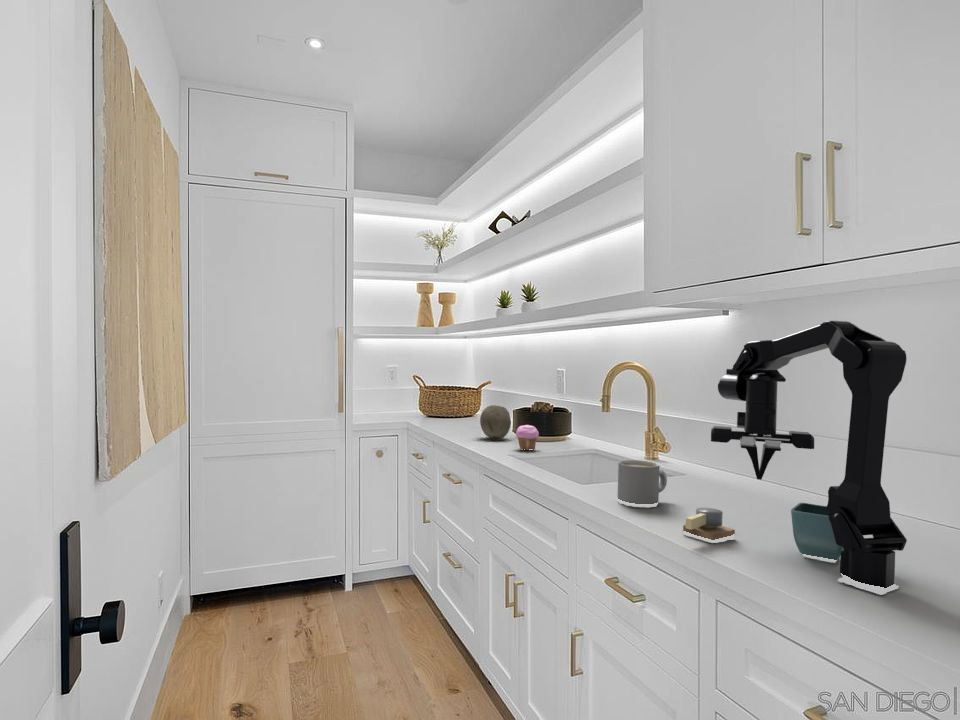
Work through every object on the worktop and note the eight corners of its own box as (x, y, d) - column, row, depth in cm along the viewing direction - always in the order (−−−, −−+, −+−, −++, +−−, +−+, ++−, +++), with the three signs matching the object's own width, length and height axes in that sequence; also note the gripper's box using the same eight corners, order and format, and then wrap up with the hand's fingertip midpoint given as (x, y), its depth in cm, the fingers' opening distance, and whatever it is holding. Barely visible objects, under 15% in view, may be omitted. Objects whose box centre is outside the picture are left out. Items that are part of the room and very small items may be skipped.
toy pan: (700, 533, 109) (701, 520, 109) (676, 527, 113) (676, 514, 113) (726, 523, 117) (726, 511, 117) (703, 518, 120) (703, 506, 120)
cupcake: (527, 452, 218) (527, 426, 218) (510, 449, 224) (511, 424, 224) (542, 450, 224) (543, 425, 224) (526, 447, 230) (527, 422, 230)
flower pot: (798, 547, 112) (799, 501, 112) (852, 557, 106) (853, 509, 106) (788, 558, 105) (790, 509, 105) (845, 570, 100) (846, 519, 100)
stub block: (734, 539, 116) (734, 526, 116) (712, 544, 112) (713, 531, 112) (704, 530, 122) (705, 518, 122) (683, 534, 118) (683, 522, 118)
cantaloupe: (517, 440, 250) (518, 406, 250) (489, 442, 243) (490, 407, 243) (500, 436, 262) (501, 403, 262) (473, 437, 255) (474, 404, 255)
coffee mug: (627, 508, 138) (629, 467, 138) (610, 498, 148) (612, 460, 148) (678, 507, 140) (679, 466, 140) (658, 497, 150) (659, 459, 150)
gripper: (807, 403, 121) (805, 476, 121) (712, 398, 128) (710, 468, 128) (815, 406, 111) (813, 487, 111) (711, 401, 118) (709, 477, 118)
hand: (759, 479), depth 117 cm, fingers closed
